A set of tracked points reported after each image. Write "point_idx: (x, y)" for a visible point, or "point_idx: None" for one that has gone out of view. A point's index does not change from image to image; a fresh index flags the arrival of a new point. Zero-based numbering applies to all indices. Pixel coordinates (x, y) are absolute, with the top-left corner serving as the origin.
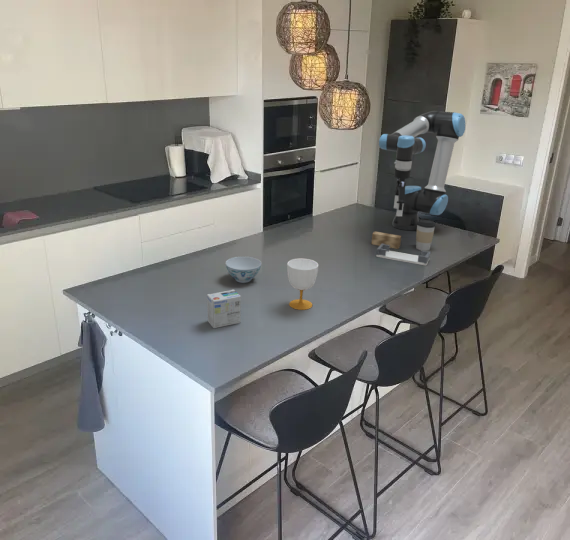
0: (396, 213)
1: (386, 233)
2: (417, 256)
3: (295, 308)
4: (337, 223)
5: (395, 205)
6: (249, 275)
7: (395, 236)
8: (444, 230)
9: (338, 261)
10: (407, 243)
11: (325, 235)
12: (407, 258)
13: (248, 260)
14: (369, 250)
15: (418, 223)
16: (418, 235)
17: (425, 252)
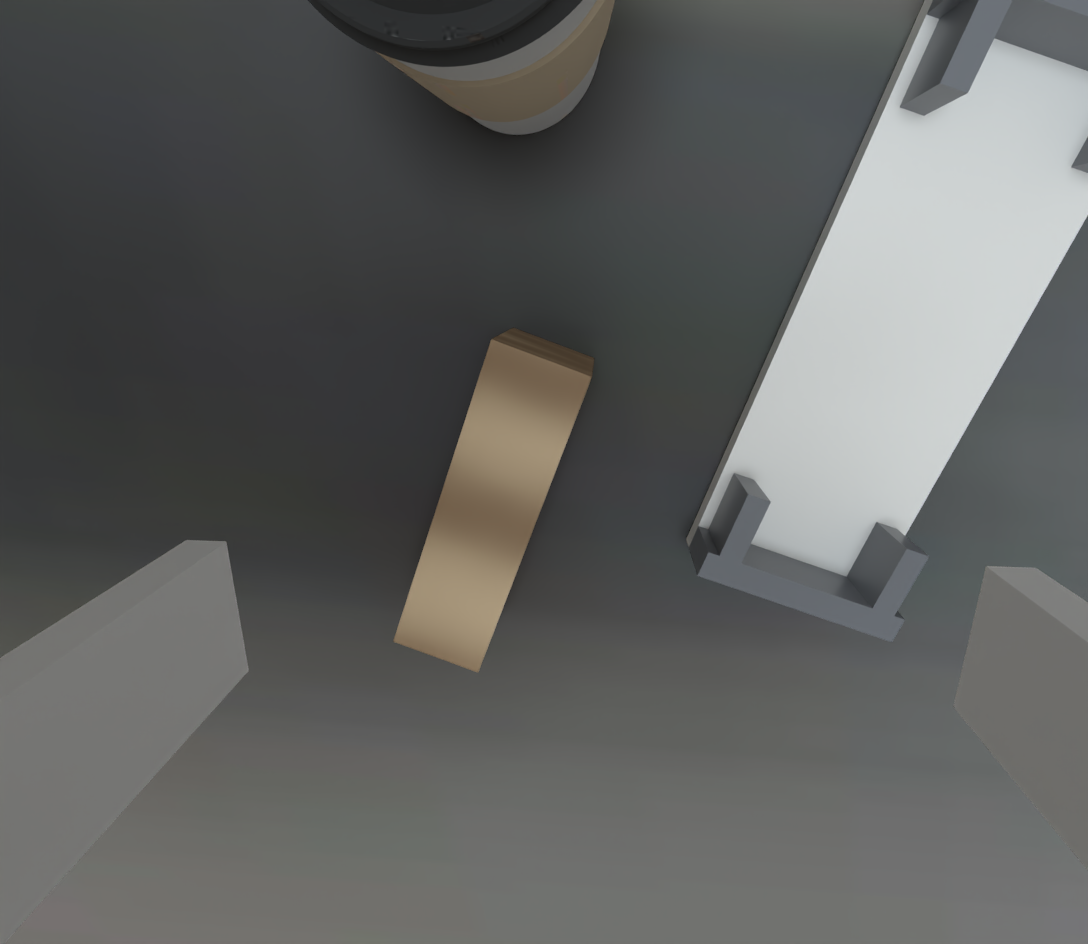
0: (996, 754)
1: (436, 519)
2: (903, 155)
3: None
4: None
5: (192, 692)
6: None
7: (532, 421)
8: None
9: (988, 887)
10: (379, 226)
11: (368, 920)
12: (976, 293)
13: None
14: (683, 638)
15: (506, 24)
16: (561, 75)
17: (996, 29)
